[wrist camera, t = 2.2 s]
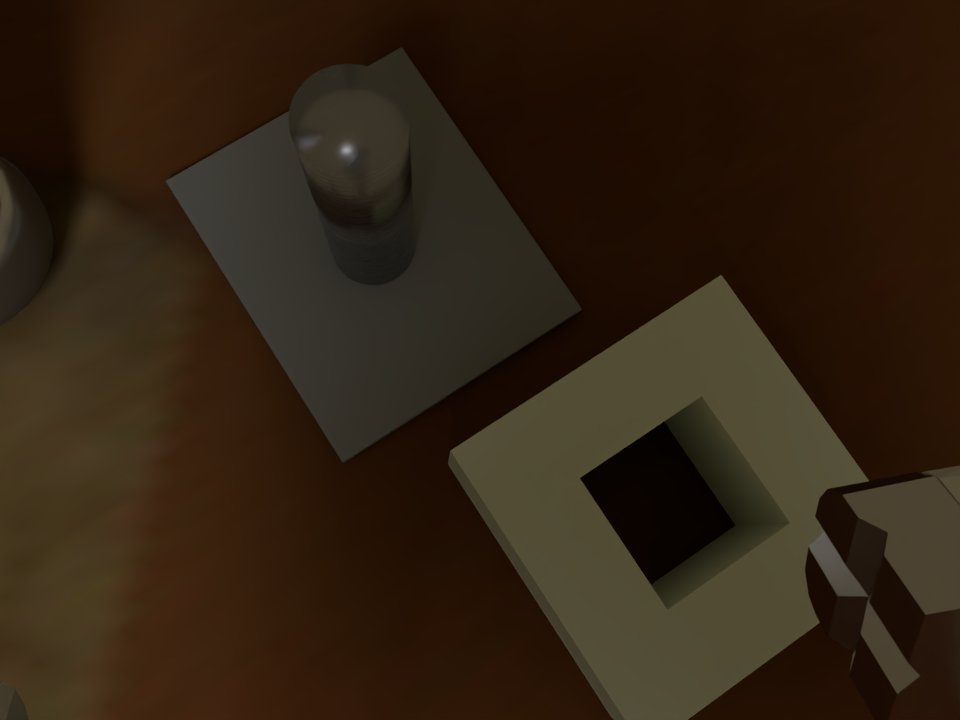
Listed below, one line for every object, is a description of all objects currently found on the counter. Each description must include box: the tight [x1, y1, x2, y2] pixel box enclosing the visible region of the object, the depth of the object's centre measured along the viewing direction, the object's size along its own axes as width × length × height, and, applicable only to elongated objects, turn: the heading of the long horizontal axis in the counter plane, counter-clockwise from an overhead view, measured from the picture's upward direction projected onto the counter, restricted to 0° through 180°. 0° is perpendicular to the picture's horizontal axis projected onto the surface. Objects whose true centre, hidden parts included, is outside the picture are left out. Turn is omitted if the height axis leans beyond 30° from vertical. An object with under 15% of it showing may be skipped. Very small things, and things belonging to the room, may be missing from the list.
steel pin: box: [288, 64, 415, 285], centre depth 28 cm, size 3×3×10 cm
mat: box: [166, 47, 582, 463], centre depth 33 cm, size 12×10×1 cm
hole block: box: [448, 275, 869, 720], centre depth 29 cm, size 10×10×5 cm
